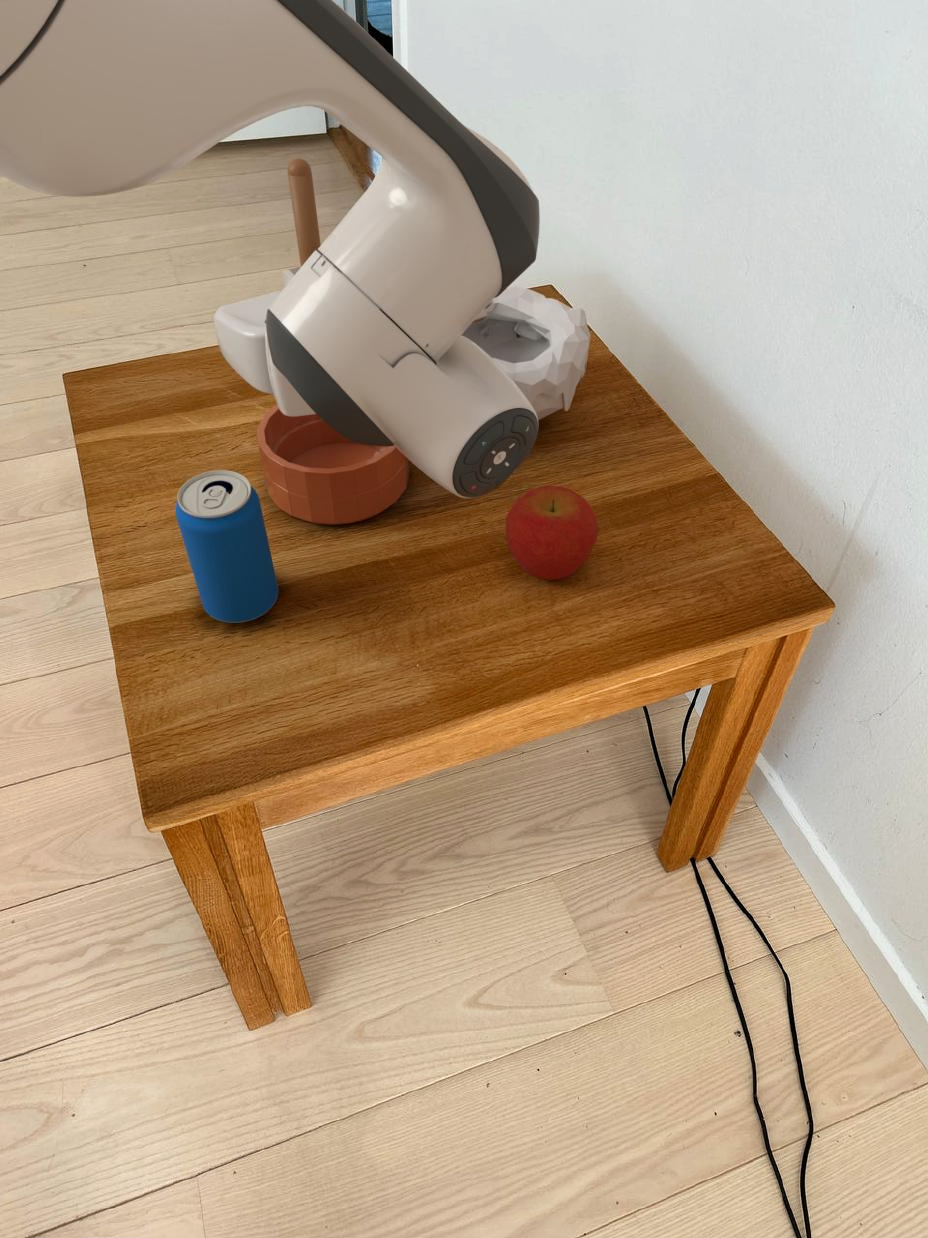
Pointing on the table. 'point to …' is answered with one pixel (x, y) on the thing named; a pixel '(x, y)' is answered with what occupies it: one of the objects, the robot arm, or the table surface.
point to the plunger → (304, 208)
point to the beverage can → (227, 545)
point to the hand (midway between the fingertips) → (308, 272)
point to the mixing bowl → (327, 470)
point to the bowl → (536, 346)
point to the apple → (551, 531)
